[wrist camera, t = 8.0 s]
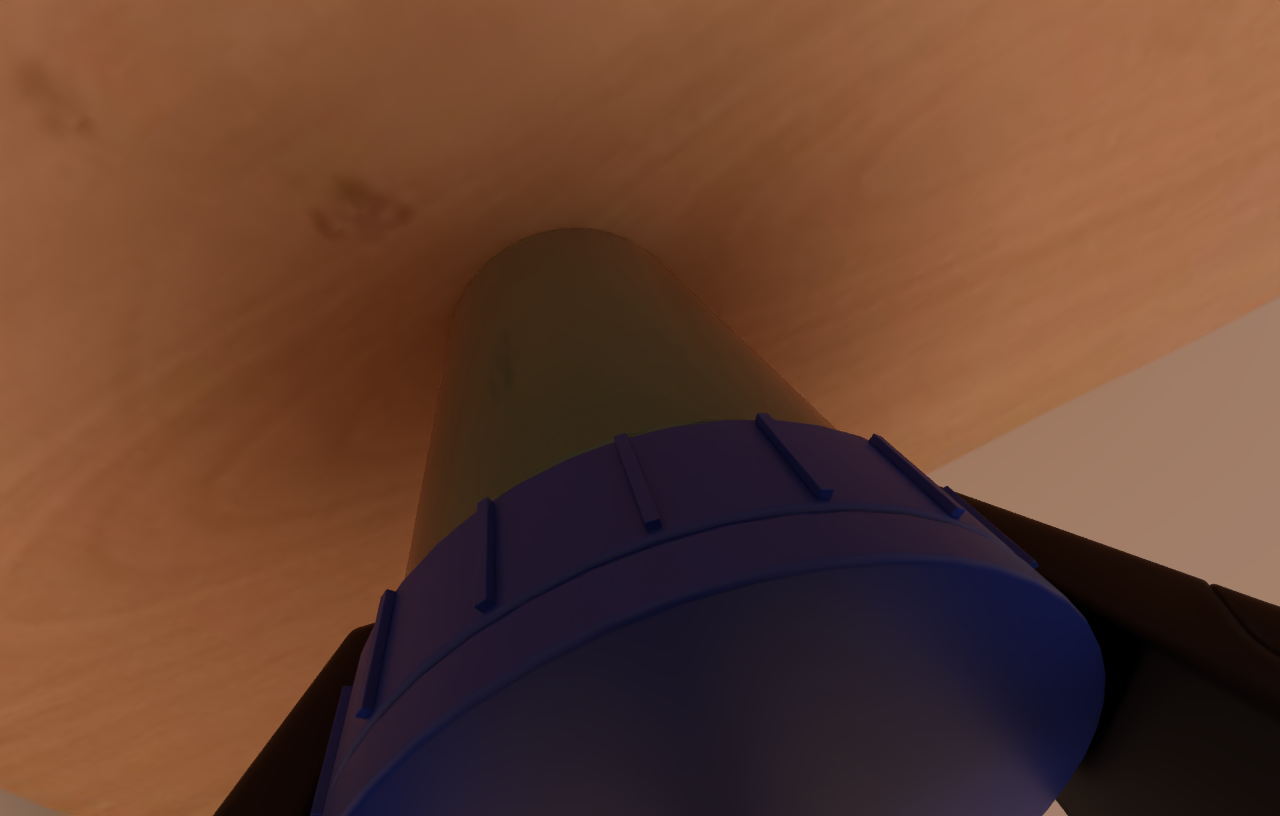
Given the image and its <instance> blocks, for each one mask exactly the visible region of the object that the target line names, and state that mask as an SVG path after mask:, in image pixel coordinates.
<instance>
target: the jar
mask: <svg viewBox="0 0 1280 816" xmlns="http://www.w3.org/2000/svg"><path fill="white" fill-rule="evenodd" d="M757 413H768V414H769V415H770V416H771V417H772V418H773V419H774V420H780V421H789V422H797V423H805V424H813V425H819V426H823V427H827V428H831V429H834V430H837V429H835V428H834V427H833V426H832V425H831V424H830V423H829V422H828V421H827V420H826V419H825V418H824V417H823V416H822V415H821V414H820V413H819V412H818V411H817V410H816V409H815V408H814V407H813V406H811V405H810V404H809V403H808V402H807V401H806V400H805V399H804V398H803V397H802V396H801V395H800V394H799V393H798V392H797V391H796V390H795V389H794V388H793V387H792V386H791V385H790V384H789V383H787V382H786V381H785V380H784V379H783V378H782V377H781V376H780V375H779V374H778V373H777V372H776V371H775V370H774V369H773V368H772V367H771V366H770V365H769V364H768V363H767V362H766V361H765V360H763V359H762V358H761V357H760V356H759V355H758V354H757V353H756V352H755V351H754V350H753V349H752V348H751V347H750V346H749V345H748V344H747V343H746V342H745V341H744V340H743V339H742V338H741V337H740V336H738V335H737V334H736V333H735V332H734V331H733V330H732V329H731V328H730V327H729V326H728V325H727V324H726V323H725V322H724V321H723V320H722V319H721V318H720V317H719V316H718V315H717V314H716V313H714V312H713V311H712V310H711V309H710V308H709V307H708V306H707V305H706V304H705V303H704V302H703V301H702V300H701V299H700V298H699V297H698V296H697V295H696V294H695V293H694V292H693V291H692V290H690V289H689V288H688V287H687V286H686V285H685V284H684V283H683V282H682V281H681V280H680V279H679V278H678V277H677V276H676V275H675V274H674V273H673V272H672V271H671V270H670V269H669V268H668V267H666V266H665V265H664V264H663V263H662V262H661V261H660V260H659V259H658V258H657V257H656V256H654V255H653V254H652V253H650V252H649V251H648V250H646V249H645V248H643V247H642V246H640V245H638V244H636V243H634V242H632V241H630V240H628V239H626V238H624V237H621V236H618V235H615V234H612V233H609V232H604V231H598V230H593V229H576V228H572V229H561V230H553V231H549V232H545V233H540V234H537V235H534V236H531V237H529V238H526V239H523V240H521V241H519V242H517V243H515V244H513V245H512V246H510V247H508V248H506V249H504V250H503V251H502V252H500V253H499V254H498V255H496V256H495V257H493V258H492V259H491V260H490V261H489V262H488V263H487V264H486V265H485V266H484V267H483V268H482V269H481V270H479V271H478V273H477V274H476V275H475V277H474V278H473V279H472V280H471V282H470V283H469V284H468V286H467V287H466V289H465V291H464V293H463V295H462V296H461V298H460V300H459V302H458V305H457V307H456V310H455V313H454V315H453V319H452V324H451V328H450V333H449V338H448V344H447V349H446V354H445V360H444V365H443V371H442V376H441V382H440V387H439V393H438V398H437V404H436V409H435V415H434V420H433V426H432V431H431V437H430V442H429V448H428V453H427V459H426V464H425V470H424V475H423V481H422V486H421V492H420V497H419V503H418V508H417V514H416V519H415V525H414V530H413V536H412V541H411V547H410V552H409V558H408V563H407V568H406V574H405V578H406V577H407V576H408V575H409V574H410V573H411V572H412V571H413V570H414V569H415V568H416V566H417V565H418V564H419V563H420V562H421V561H422V560H423V559H424V558H425V557H426V556H427V555H428V553H429V552H430V551H431V550H432V549H433V548H434V547H435V546H436V545H437V544H438V543H439V542H440V541H441V540H443V539H444V538H445V537H446V536H447V535H449V534H450V533H451V532H452V531H453V530H455V529H456V528H457V527H458V526H459V525H461V524H462V523H463V522H464V521H465V520H467V519H468V518H469V517H470V516H471V515H473V514H474V513H475V512H476V511H477V503H478V502H480V501H481V500H483V499H484V498H486V497H488V498H489V499H490V500H491V501H493V500H495V499H496V498H498V497H499V496H501V495H502V494H504V493H505V492H507V491H509V490H510V489H512V488H513V487H515V486H516V485H518V484H519V483H521V482H523V481H525V480H527V479H529V478H531V477H533V476H535V475H537V474H539V473H541V472H543V471H545V470H547V469H549V468H551V467H553V466H555V465H557V464H559V463H561V462H563V461H565V460H567V459H569V458H572V457H575V456H577V455H580V454H583V453H585V452H588V451H591V450H594V449H596V448H599V447H602V446H604V445H607V444H610V443H613V442H615V440H614V436H616V435H620V434H623V433H626V434H627V436H628V438H629V437H633V436H637V435H641V434H645V433H649V432H653V431H657V430H661V429H665V428H669V427H674V426H681V425H689V424H697V423H704V422H712V421H720V420H755V419H756V415H757ZM404 580H405V579H404Z"/></svg>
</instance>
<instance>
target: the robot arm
mask: <svg viewBox="0 0 1280 816" xmlns="http://www.w3.org/2000/svg"><path fill="white" fill-rule="evenodd" d="M939 487H940V486H939ZM940 488H941V489H943V487H940ZM955 493H956V494H958V495H959V496H960V497H961V498H962V499H963V500H965V501H966V502H967V503H968V504H969V505H970V506H972V507H973V508H974V509H975V510H976V511H978V512H979V513H980V514H981V515H982V516H983V517H985V518H986V519H987V520H988V521H989V522H990V523H992V524H993V525H994V526H995V527H996V528H997V529H999V530H1000V531H1001V532H1002V533H1003V534H1005V535H1006V536H1007V537H1008V538H1009V539H1010V540H1012V541H1013V542H1014V543H1015V544H1016V545H1017V546H1019V547H1020V548H1021V549H1022V550H1023V551H1024V552H1026V553H1027V554H1028V555H1029V556H1030V557H1032V558H1033V559H1034V560H1035V561H1036V563H1037V564H1038V567H1037V568H1036V569H1035V570H1036V571H1037V572H1038V573H1039V574H1040V575H1041V576H1043V577H1044V578H1045V579H1046V580H1047V581H1048V582H1049V583H1051V584H1052V585H1053V586H1054V587H1055V588H1056V589H1058V590H1059V591H1060V592H1061V593H1062V594H1063V595H1064V596H1065V597H1066V598H1067V599H1068V600H1069V601H1070V602H1071V603H1072V604H1073V605H1074V606H1075V607H1076V608H1077V610H1078V611H1079V612H1080V613H1081V614H1082V615H1083V616H1084V617H1085V618H1086V620H1087V622H1088V624H1089V626H1090V628H1091V630H1092V632H1093V634H1094V636H1095V638H1096V640H1097V642H1098V644H1099V646H1100V648H1101V652H1102V658H1103V663H1104V668H1105V674H1106V678H1105V695H1104V704H1103V707H1102V711H1101V715H1100V719H1099V722H1098V726H1097V729H1096V732H1095V734H1094V736H1093V738H1092V740H1091V743H1090V745H1089V747H1088V749H1087V752H1086V754H1085V756H1084V758H1083V759H1082V761H1081V762H1080V764H1079V766H1078V767H1077V769H1076V771H1075V772H1074V774H1073V776H1072V777H1071V779H1070V780H1069V782H1068V783H1067V785H1066V786H1065V787H1064V789H1063V790H1062V791H1061V793H1060V794H1059V795H1058V797H1057V798H1056V801H1057V802H1058V803H1059V805H1060V806H1061V807H1062V809H1064V811H1065V812H1066V814H1067V815H1068V816H1280V607H1279V606H1276V605H1273V604H1271V603H1268V602H1264V601H1262V600H1259V599H1256V598H1253V597H1250V596H1248V595H1245V594H1242V593H1239V592H1236V591H1233V590H1230V589H1228V588H1225V587H1222V586H1220V585H1217V584H1211V585H1209V584H1208V583H1207V582H1206V581H1204V580H1202V579H1199V578H1196V577H1194V576H1191V575H1188V574H1185V573H1182V572H1180V571H1177V570H1174V569H1171V568H1168V567H1165V566H1163V565H1160V564H1157V563H1154V562H1151V561H1148V560H1146V559H1143V558H1140V557H1137V556H1135V555H1131V554H1129V553H1126V552H1123V551H1120V550H1118V549H1115V548H1112V547H1109V546H1106V545H1103V544H1101V543H1098V542H1095V541H1092V540H1089V539H1087V538H1084V537H1081V536H1078V535H1075V534H1073V533H1070V532H1067V531H1064V530H1061V529H1058V528H1056V527H1053V526H1050V525H1047V524H1044V523H1042V522H1039V521H1036V520H1033V519H1030V518H1027V517H1025V516H1022V515H1019V514H1016V513H1013V512H1011V511H1007V510H1005V509H1002V508H999V507H996V506H994V505H991V504H988V503H985V502H982V501H980V500H977V499H974V498H971V497H968V496H965V495H963V494H960V493H957V492H955ZM374 625H375V623H372V624H369V625H365V626H362V627H358V628H356V629H354V630H353V631H352V632H351V633H350V634H349V635H348V636H347V637H346V638H345V640H344V641H343V643H342V644H341V645H340V647H339V648H338V649H337V651H336V652H335V653H334V655H333V656H332V657H331V659H330V660H329V661H328V663H327V664H326V665H325V667H324V668H323V669H322V671H321V672H320V673H319V675H318V676H317V677H316V679H315V680H314V681H313V683H312V684H311V685H310V687H309V688H308V689H307V691H306V692H305V693H304V695H303V696H302V697H301V699H300V700H299V701H298V703H297V704H296V705H295V707H294V708H293V709H292V711H291V712H290V713H289V715H288V716H287V717H286V719H285V720H284V721H283V723H282V724H281V725H280V727H279V728H278V729H277V731H276V732H275V733H274V735H273V736H272V737H271V739H270V740H269V741H268V743H267V744H266V745H265V747H264V748H263V749H262V751H261V752H260V753H259V755H258V756H257V757H256V759H255V760H254V761H253V763H252V764H251V765H250V767H249V768H248V769H247V771H246V772H245V773H244V775H243V776H242V777H241V779H240V780H239V781H238V783H237V784H236V785H235V787H234V788H233V790H232V791H231V792H230V794H229V795H228V796H227V798H226V799H225V800H224V802H223V803H222V804H221V806H220V807H219V808H218V810H217V811H216V812H215V814H214V815H213V816H310V814H311V810H312V806H313V802H314V798H315V794H316V790H317V786H318V782H319V778H320V774H321V770H322V766H323V763H324V759H325V755H326V751H327V747H328V743H329V739H330V735H331V731H332V727H333V723H334V719H335V715H336V712H337V708H338V704H339V700H340V696H341V692H342V688H343V686H353V684H354V680H355V676H356V672H357V668H358V664H359V660H360V656H361V653H362V651H363V648H364V646H365V644H366V642H367V640H368V638H369V636H370V633H371V631H372V629H373V627H374Z"/></svg>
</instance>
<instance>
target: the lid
mask: <svg viewBox="0 0 1280 816" xmlns="http://www.w3.org/2000/svg"><path fill="white" fill-rule="evenodd" d="M614 440H615V442H613V443H610V444H607V445H604V446H602V447H599V448H596V449H594V450H591V451H588V452H585V453H583V454H580V455H577V456H575V457H572V458H569V459H567V460H565V461H563V462H561V463H559V464H557V465H555V466H553V467H551V468H549V469H547V470H545V471H543V472H541V473H539V474H537V475H535V476H533V477H531V478H529V479H527V480H525V481H523V482H521V483H519V484H518V485H516V486H515V487H513V488H512V489H510V490H509V491H507V492H505V493H504V494H502V495H501V496H499V497H498V498H496V499H495V500H493V501H491V500H490V499H489V498H488V497H486V498H484V499H483V500H481V501H480V502H478V503H477V511H476V512H475V513H474V514H473V515H471V516H470V517H469V518H468V519H467V520H465V521H464V522H463V523H462V524H461V525H459V526H458V527H457V528H456V529H455V530H453V531H452V532H451V533H450V534H449V535H447V536H446V537H445V538H444V539H443V540H441V541H440V542H439V543H438V544H437V545H436V546H435V547H434V548H433V549H432V550H431V551H430V552H429V553H428V555H427V556H426V557H425V558H424V559H423V560H422V561H421V562H420V563H419V564H418V565H417V566H416V568H415V569H414V570H413V571H412V572H411V573H410V574H409V575H408V576H407V577H406V578H405V580H404V581H403V582H402V583H401V585H400V586H399V587H398V589H397V590H396V592H395V591H392V590H388V589H387V590H386V591H385V592H384V594H383V595H382V596H381V600H380V604H379V609H378V613H377V618H376V622H375V625H374V627H373V629H372V631H371V633H370V636H369V638H368V640H367V642H366V644H365V646H364V648H363V651H362V653H361V656H360V660H359V664H358V668H357V672H356V676H355V680H354V684H353V686H343V688H342V692H341V696H340V700H339V704H338V708H337V712H336V715H335V719H334V723H333V727H332V731H331V735H330V739H329V743H328V747H327V751H326V755H325V759H324V763H323V766H322V770H321V774H320V778H319V782H318V786H317V790H316V794H315V798H314V802H313V806H312V810H311V814H310V816H1042V815H1043V814H1044V813H1045V812H1046V811H1047V810H1048V808H1049V807H1050V806H1051V804H1052V803H1053V802H1054V800H1055V799H1056V798H1057V797H1058V795H1059V794H1060V793H1061V791H1062V790H1063V789H1064V787H1065V786H1066V785H1067V783H1068V782H1069V780H1070V779H1071V777H1072V776H1073V774H1074V772H1075V771H1076V769H1077V767H1078V766H1079V764H1080V762H1081V761H1082V759H1083V758H1084V756H1085V754H1086V752H1087V749H1088V747H1089V745H1090V743H1091V740H1092V738H1093V736H1094V734H1095V732H1096V729H1097V726H1098V722H1099V719H1100V715H1101V711H1102V707H1103V704H1104V695H1105V678H1106V674H1105V668H1104V663H1103V658H1102V652H1101V648H1100V646H1099V644H1098V642H1097V640H1096V638H1095V636H1094V634H1093V632H1092V630H1091V628H1090V626H1089V624H1088V622H1087V620H1086V618H1085V617H1084V616H1083V615H1082V614H1081V613H1080V612H1079V611H1078V610H1077V608H1076V607H1075V606H1074V605H1073V604H1072V603H1071V602H1070V601H1069V600H1068V599H1067V598H1066V597H1065V596H1064V595H1063V594H1062V593H1061V592H1060V591H1059V590H1058V589H1056V588H1055V587H1054V586H1053V585H1052V584H1051V583H1049V582H1048V581H1047V580H1046V579H1045V578H1044V577H1043V576H1041V575H1040V574H1039V573H1038V572H1037V571H1036V570H1035V569H1036V568H1037V567H1038V564H1037V563H1036V561H1035V560H1034V559H1033V558H1032V557H1030V556H1029V555H1028V554H1027V553H1026V552H1024V551H1023V550H1022V549H1021V548H1020V547H1019V546H1017V545H1016V544H1015V543H1014V542H1013V541H1012V540H1010V539H1009V538H1008V537H1007V536H1006V535H1005V534H1003V533H1002V532H1001V531H1000V530H999V529H997V528H996V527H995V526H994V525H993V524H992V523H990V522H989V521H988V520H987V519H986V518H985V517H983V516H982V515H981V514H980V513H979V512H978V511H976V510H975V509H974V508H973V507H972V506H970V505H969V504H968V503H967V502H966V501H965V500H963V499H962V498H961V497H960V496H959V495H958V494H956V493H955V492H954V491H953V490H952V489H950V488H949V487H948V486H946V487H944V488H943V489H941V488H940V487H939V486H938V485H937V484H936V483H934V482H933V481H932V480H931V479H930V478H929V477H927V476H926V475H925V474H924V473H923V472H922V471H921V470H919V469H918V468H917V467H916V466H915V465H913V464H912V463H911V462H910V461H909V460H908V459H907V458H905V457H904V456H903V455H902V454H901V453H900V452H898V451H897V450H896V449H895V448H894V447H893V446H892V445H890V444H889V443H888V442H887V441H886V440H885V439H884V438H882V437H881V436H879V435H876V434H873V435H872V437H871V438H870V440H867V439H864V438H862V437H860V436H857V435H853V434H849V433H846V432H842V431H838V430H834V429H831V428H827V427H823V426H819V425H813V424H805V423H797V422H789V421H780V420H774V419H773V418H772V417H771V416H770V415H769V414H768V413H757V415H756V419H755V420H720V421H712V422H704V423H697V424H689V425H681V426H674V427H669V428H665V429H661V430H657V431H653V432H649V433H645V434H641V435H637V436H633V437H629V438H628V436H627V434H626V433H623V434H620V435H616V436H614Z"/></svg>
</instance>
